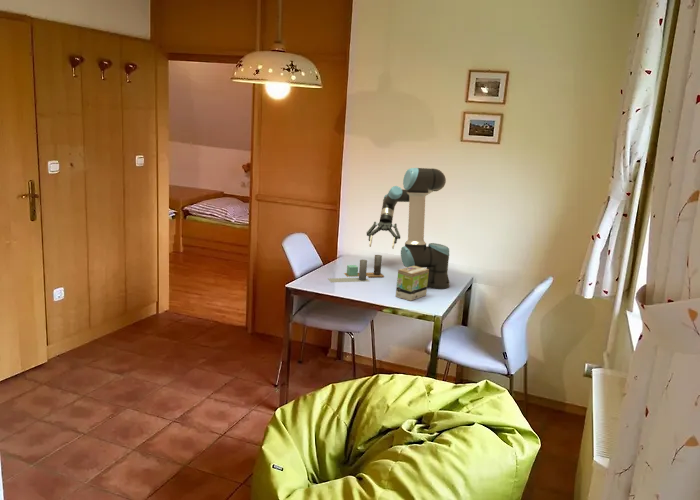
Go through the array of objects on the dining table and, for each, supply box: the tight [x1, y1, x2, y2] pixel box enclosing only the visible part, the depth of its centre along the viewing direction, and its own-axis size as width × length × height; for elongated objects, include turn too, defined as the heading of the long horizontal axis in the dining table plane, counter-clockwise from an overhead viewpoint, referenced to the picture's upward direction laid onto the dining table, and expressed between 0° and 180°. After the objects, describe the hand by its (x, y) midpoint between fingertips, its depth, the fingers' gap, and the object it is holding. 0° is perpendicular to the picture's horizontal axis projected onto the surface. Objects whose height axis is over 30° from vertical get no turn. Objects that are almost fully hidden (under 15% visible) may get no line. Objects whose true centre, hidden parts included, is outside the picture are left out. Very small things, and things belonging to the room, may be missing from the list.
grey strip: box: [327, 259, 370, 283], centre depth 339 cm, size 7×22×12 cm, turn 106°
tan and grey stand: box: [343, 254, 385, 279], centre depth 351 cm, size 7×22×12 cm, turn 106°
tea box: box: [395, 266, 429, 302], centre depth 320 cm, size 15×10×15 cm, turn 141°
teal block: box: [346, 264, 359, 277], centre depth 350 cm, size 5×5×5 cm
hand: (381, 246), depth 362 cm, fingers open, 13 cm apart
